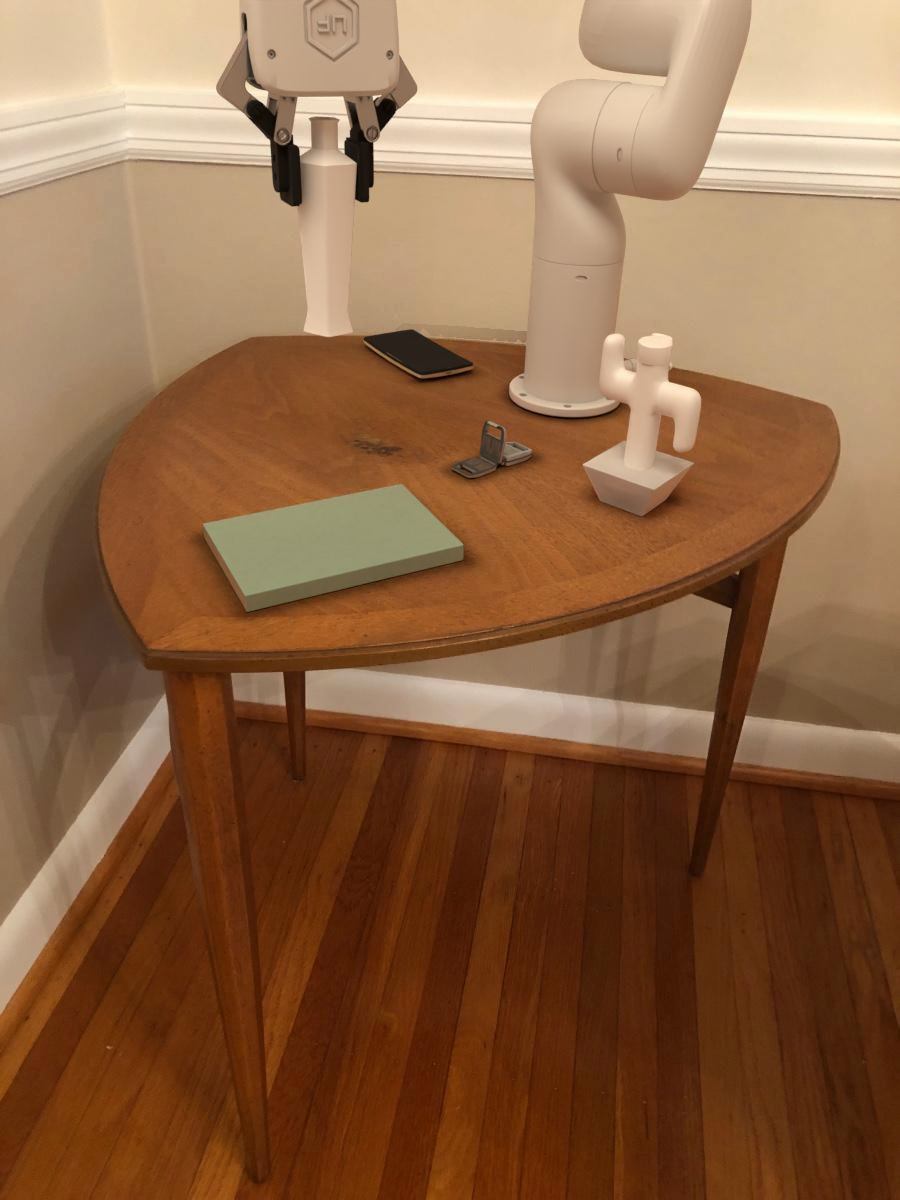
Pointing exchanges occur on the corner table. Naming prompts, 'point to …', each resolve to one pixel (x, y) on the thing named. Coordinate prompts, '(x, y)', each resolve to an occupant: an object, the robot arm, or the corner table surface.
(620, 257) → the robot arm
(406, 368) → the smartphone
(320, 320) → the white faceted vase
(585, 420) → the corner table surface
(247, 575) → the tile slab
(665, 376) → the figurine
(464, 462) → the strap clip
